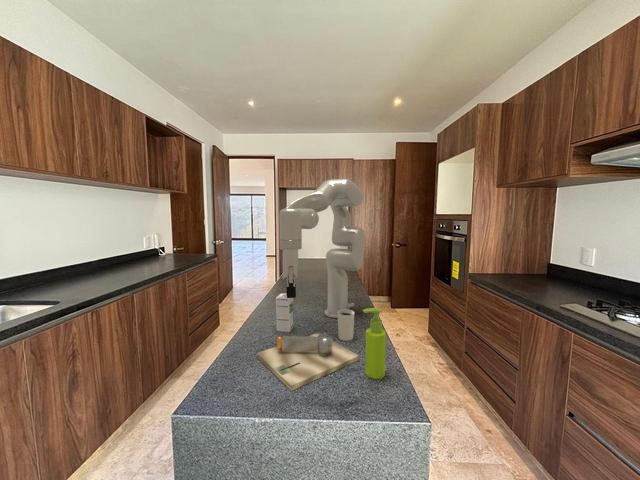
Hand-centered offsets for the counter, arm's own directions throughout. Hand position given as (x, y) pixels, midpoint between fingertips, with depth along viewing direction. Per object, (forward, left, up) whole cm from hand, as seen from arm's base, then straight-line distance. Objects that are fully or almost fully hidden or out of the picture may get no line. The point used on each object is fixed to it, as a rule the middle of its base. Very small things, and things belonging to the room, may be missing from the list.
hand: (291, 296), depth 95 cm
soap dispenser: (-12, +28, -19) cm, 36 cm away
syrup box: (-7, -16, -19) cm, 26 cm away
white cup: (-22, +5, -19) cm, 29 cm away
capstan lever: (0, +8, -17) cm, 19 cm away
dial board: (-1, +9, -19) cm, 21 cm away
